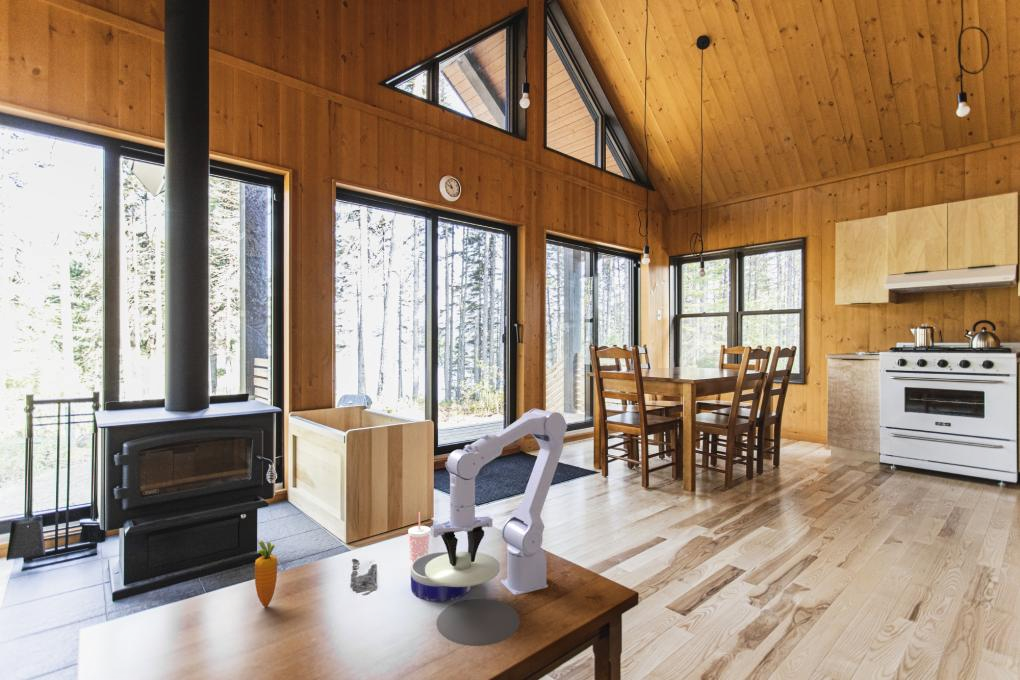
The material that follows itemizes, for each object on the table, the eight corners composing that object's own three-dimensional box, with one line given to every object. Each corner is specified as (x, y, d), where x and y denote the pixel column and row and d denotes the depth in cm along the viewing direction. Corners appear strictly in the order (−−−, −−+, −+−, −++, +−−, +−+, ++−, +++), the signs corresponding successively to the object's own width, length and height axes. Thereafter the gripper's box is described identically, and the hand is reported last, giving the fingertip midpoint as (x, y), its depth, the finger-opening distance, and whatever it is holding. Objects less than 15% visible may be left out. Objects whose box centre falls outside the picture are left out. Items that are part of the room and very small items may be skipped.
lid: (481, 550, 127) (480, 536, 127) (512, 576, 112) (512, 561, 112) (415, 563, 119) (415, 549, 119) (440, 593, 104) (439, 577, 104)
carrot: (281, 606, 115) (281, 541, 115) (258, 615, 111) (259, 547, 111) (272, 599, 118) (273, 535, 118) (250, 607, 114) (250, 541, 114)
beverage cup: (405, 560, 139) (405, 509, 139) (426, 556, 142) (426, 506, 142) (411, 569, 134) (411, 516, 134) (433, 564, 137) (433, 513, 137)
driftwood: (377, 598, 120) (377, 589, 120) (347, 601, 118) (347, 593, 118) (377, 562, 140) (377, 554, 140) (352, 564, 138) (352, 557, 138)
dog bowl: (463, 607, 115) (463, 581, 115) (400, 600, 118) (400, 575, 118) (479, 576, 130) (479, 553, 130) (423, 571, 133) (423, 548, 133)
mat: (497, 594, 121) (497, 592, 121) (534, 633, 105) (535, 631, 105) (425, 611, 113) (425, 610, 113) (453, 657, 97) (453, 655, 97)
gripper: (438, 513, 109) (438, 576, 109) (498, 503, 115) (498, 562, 115) (427, 504, 115) (427, 563, 115) (485, 495, 122) (485, 551, 122)
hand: (462, 562), depth 116 cm, fingers closed on lid, 4 cm apart
